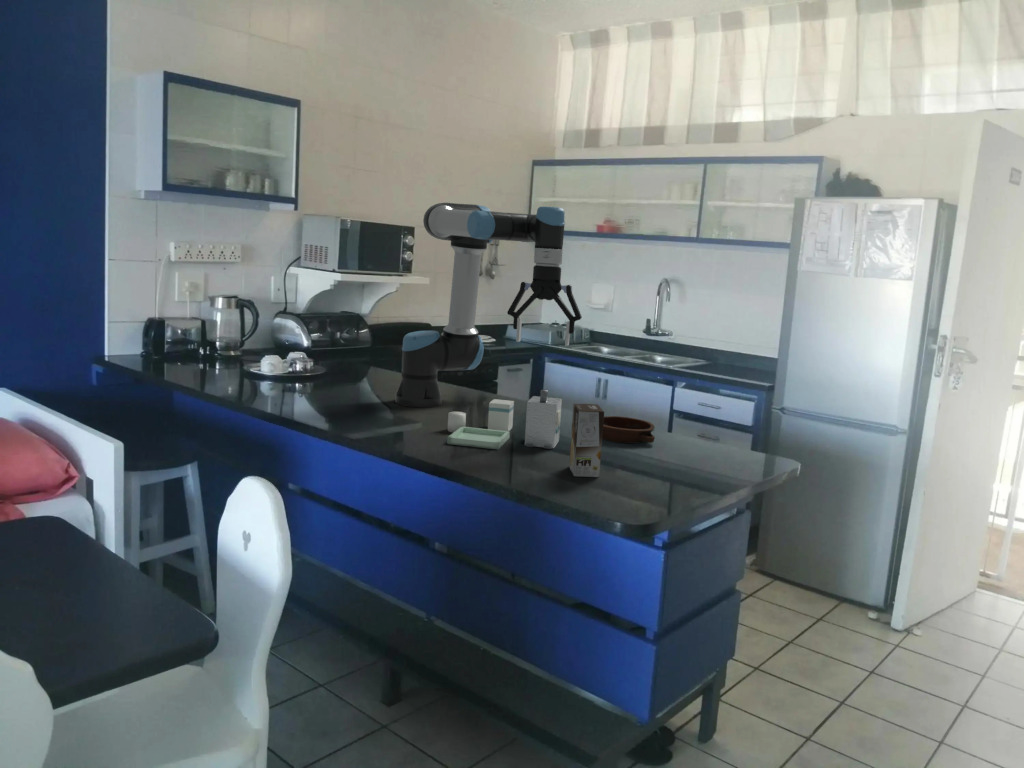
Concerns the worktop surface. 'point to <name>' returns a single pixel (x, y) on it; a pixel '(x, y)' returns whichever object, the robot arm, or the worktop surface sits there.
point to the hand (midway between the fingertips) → (542, 343)
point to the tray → (478, 437)
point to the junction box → (543, 421)
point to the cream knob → (456, 420)
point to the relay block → (500, 415)
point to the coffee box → (586, 440)
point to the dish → (627, 430)
